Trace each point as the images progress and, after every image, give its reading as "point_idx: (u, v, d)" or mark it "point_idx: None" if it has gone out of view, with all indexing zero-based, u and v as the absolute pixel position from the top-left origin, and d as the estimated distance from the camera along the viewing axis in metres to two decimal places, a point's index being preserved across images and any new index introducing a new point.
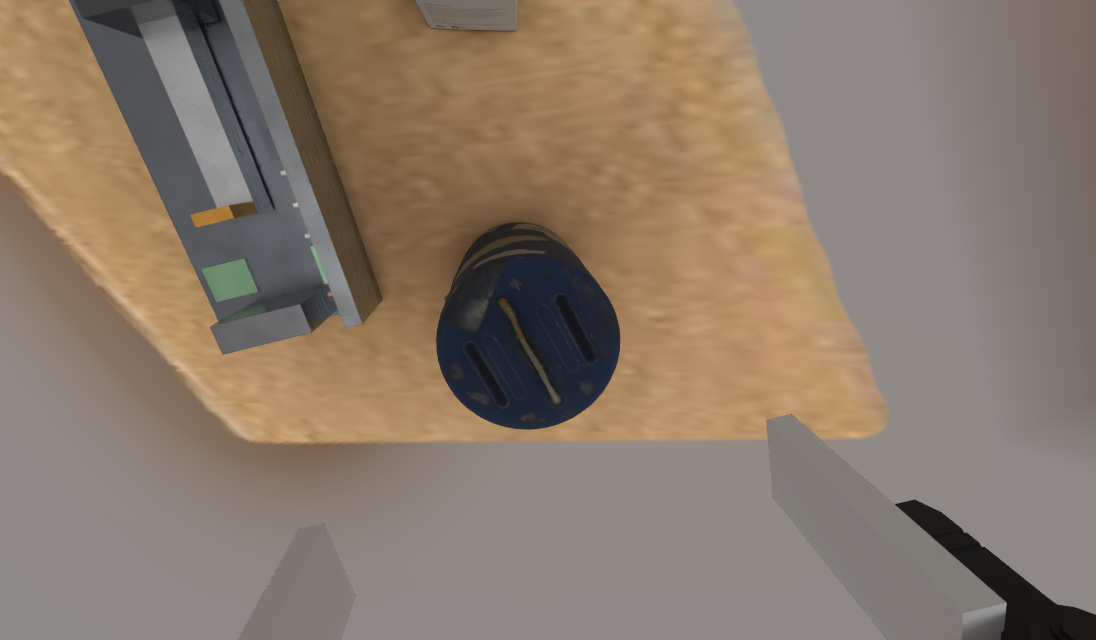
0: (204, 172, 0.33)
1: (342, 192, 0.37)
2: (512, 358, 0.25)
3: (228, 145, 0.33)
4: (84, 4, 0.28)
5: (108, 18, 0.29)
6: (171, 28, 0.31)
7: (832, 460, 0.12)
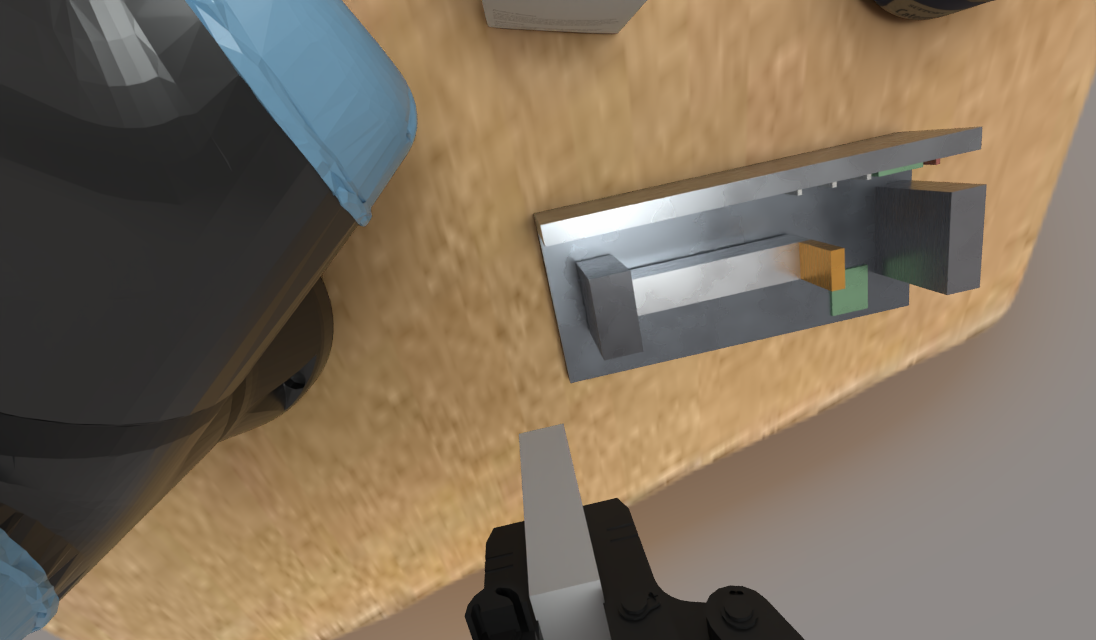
0: (763, 284, 0.32)
1: (777, 160, 0.33)
2: None
3: (742, 256, 0.31)
4: (632, 347, 0.30)
5: None
6: (634, 289, 0.31)
7: (564, 464, 0.14)
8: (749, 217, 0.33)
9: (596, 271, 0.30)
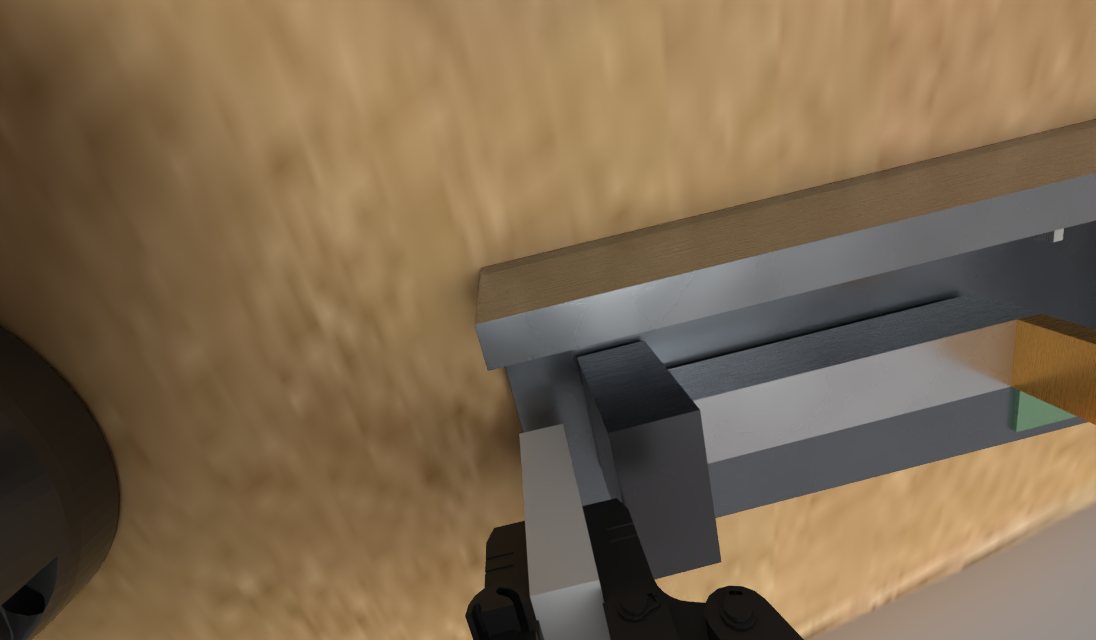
0: (941, 400, 0.17)
1: (940, 159, 0.18)
2: None
3: (906, 350, 0.16)
4: (699, 555, 0.14)
5: None
6: None
7: (563, 464, 0.14)
8: None
9: (621, 398, 0.14)
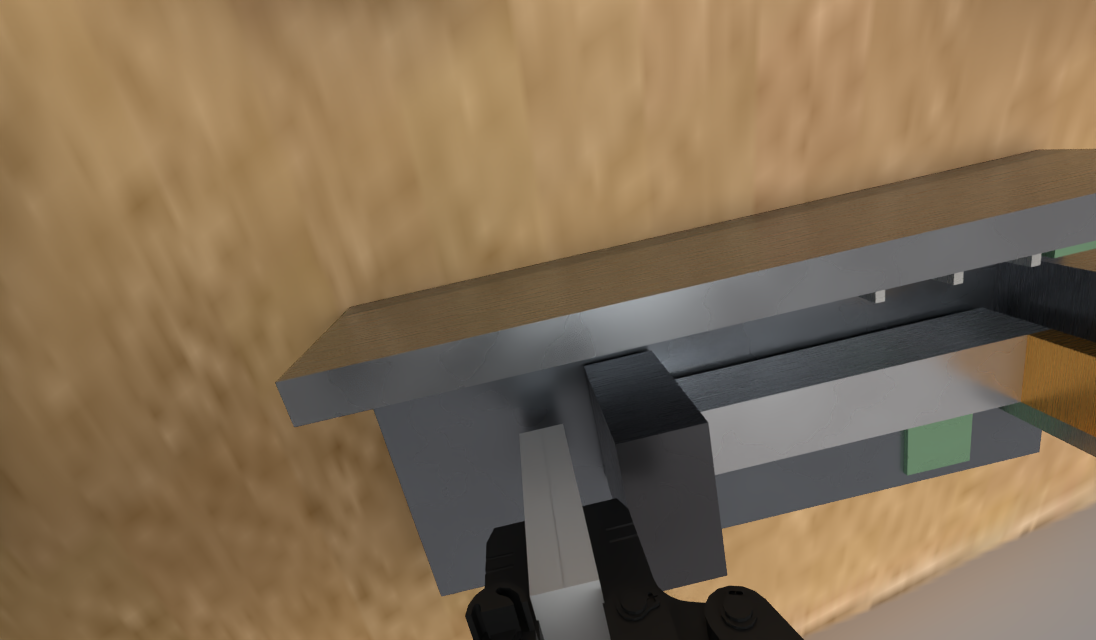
0: (950, 414, 0.16)
1: (813, 204, 0.17)
2: None
3: (915, 364, 0.16)
4: (705, 568, 0.14)
5: None
6: None
7: (564, 464, 0.14)
8: None
9: (628, 409, 0.14)
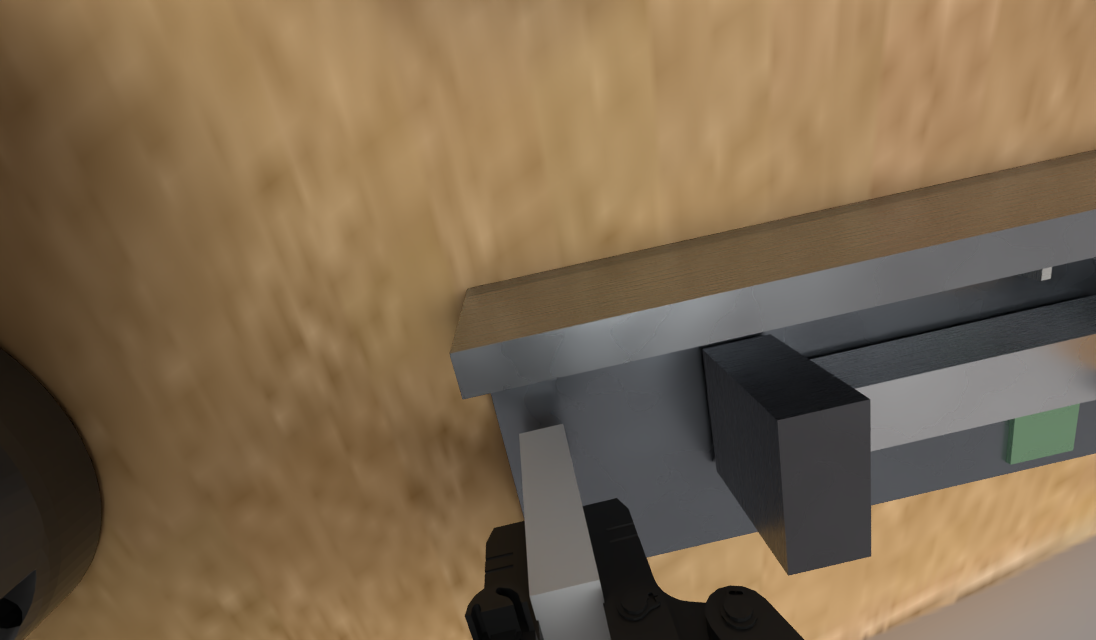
0: (1077, 399, 0.16)
1: (933, 188, 0.17)
2: None
3: (1048, 347, 0.16)
4: (850, 548, 0.14)
5: None
6: None
7: (564, 464, 0.14)
8: None
9: (774, 388, 0.14)
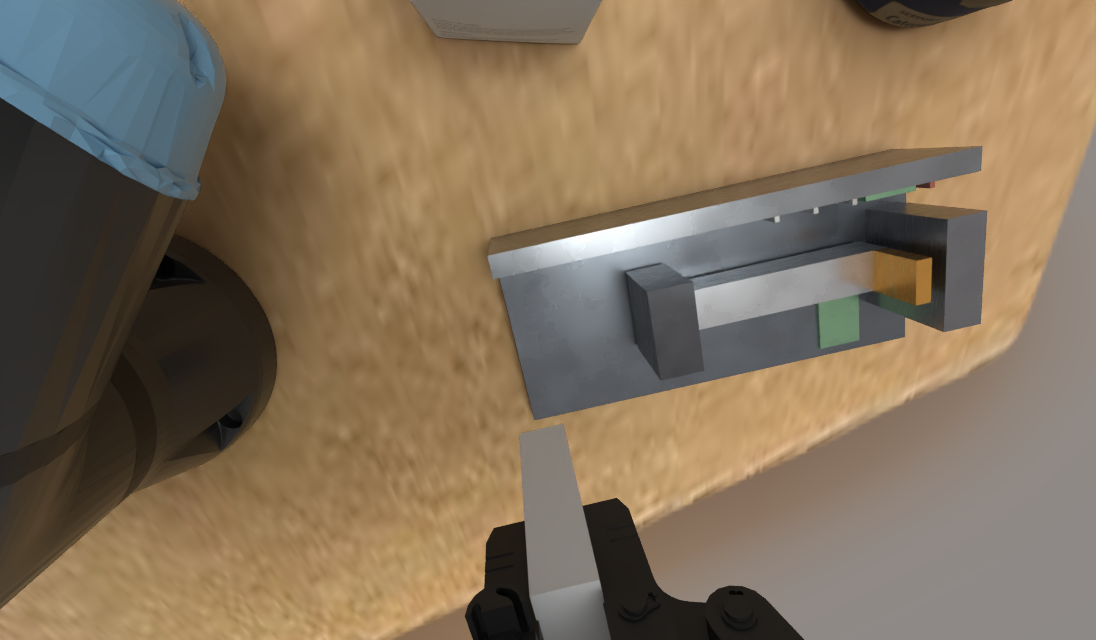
0: (832, 297, 0.29)
1: (757, 180, 0.30)
2: None
3: (810, 266, 0.29)
4: (692, 365, 0.27)
5: None
6: None
7: (564, 464, 0.14)
8: (727, 242, 0.31)
9: (652, 282, 0.27)
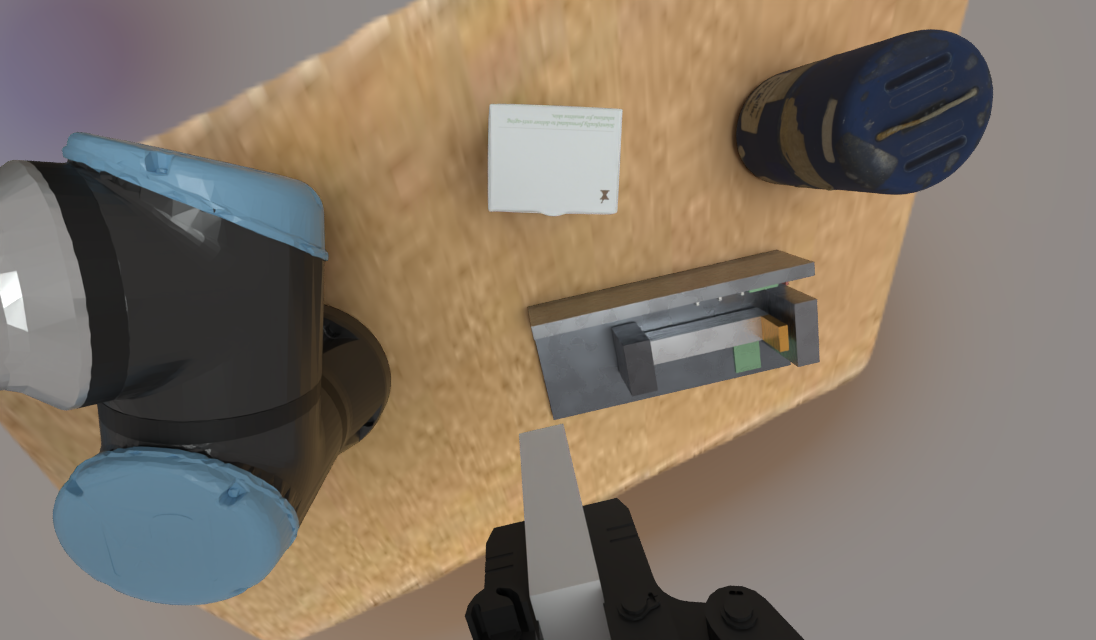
0: (737, 343, 0.48)
1: (693, 270, 0.49)
2: (927, 130, 0.30)
3: (723, 325, 0.47)
4: (651, 387, 0.46)
5: None
6: (651, 347, 0.47)
7: (564, 464, 0.14)
8: (674, 308, 0.49)
9: (627, 338, 0.46)
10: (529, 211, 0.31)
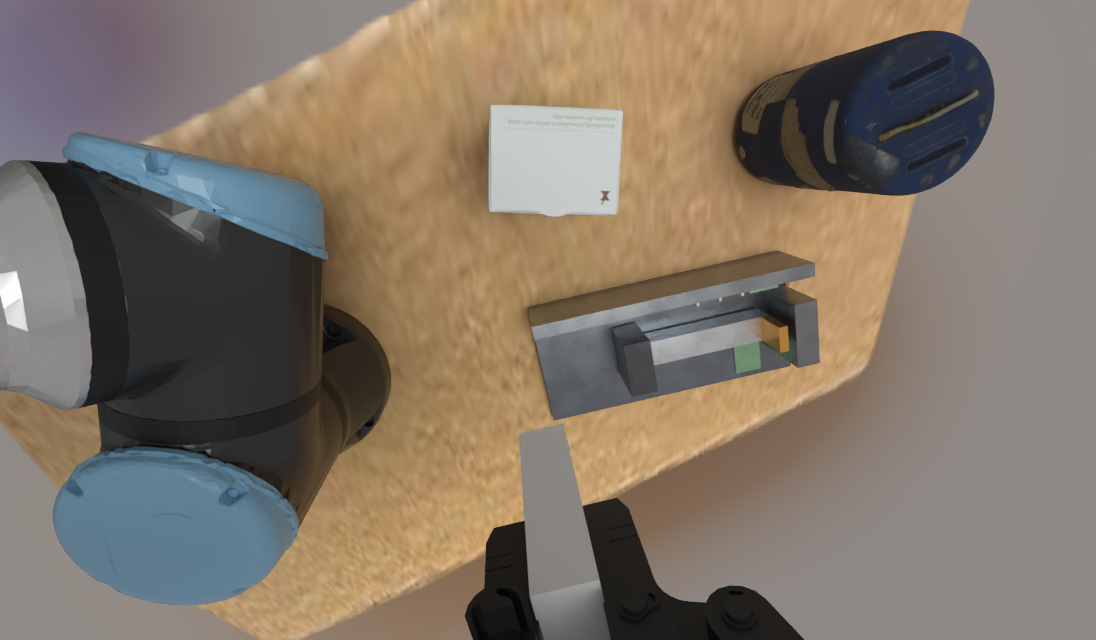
0: (737, 344, 0.48)
1: (693, 271, 0.49)
2: (929, 131, 0.30)
3: (723, 326, 0.47)
4: (651, 388, 0.46)
5: None
6: (651, 348, 0.47)
7: (564, 464, 0.14)
8: (674, 309, 0.49)
9: (627, 338, 0.46)
10: (529, 212, 0.31)
